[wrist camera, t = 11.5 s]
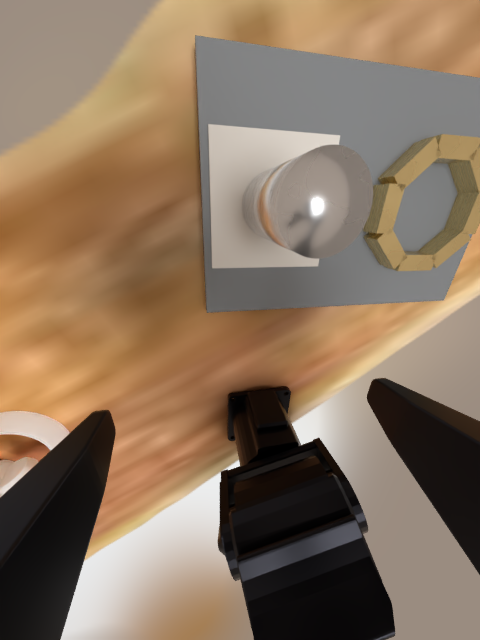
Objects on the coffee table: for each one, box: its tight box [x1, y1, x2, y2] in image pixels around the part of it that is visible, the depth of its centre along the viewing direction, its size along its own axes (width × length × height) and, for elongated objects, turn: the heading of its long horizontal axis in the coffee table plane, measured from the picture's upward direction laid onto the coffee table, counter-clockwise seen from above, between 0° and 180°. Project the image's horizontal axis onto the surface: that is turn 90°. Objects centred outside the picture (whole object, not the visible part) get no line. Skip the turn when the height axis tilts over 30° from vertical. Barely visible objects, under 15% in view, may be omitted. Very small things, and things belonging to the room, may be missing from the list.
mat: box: [208, 124, 340, 268], centre depth 16 cm, size 8×8×1 cm
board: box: [195, 35, 480, 313], centre depth 17 cm, size 15×22×1 cm
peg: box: [242, 145, 373, 259], centre depth 12 cm, size 4×4×7 cm
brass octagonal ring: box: [363, 134, 480, 271], centre depth 17 cm, size 8×8×2 cm
